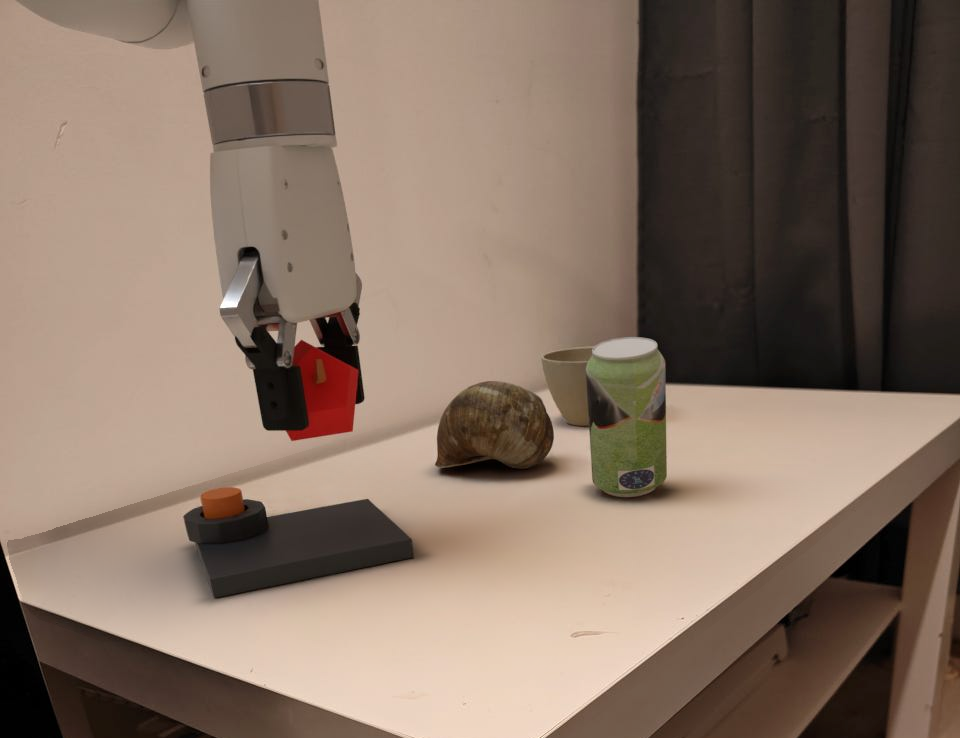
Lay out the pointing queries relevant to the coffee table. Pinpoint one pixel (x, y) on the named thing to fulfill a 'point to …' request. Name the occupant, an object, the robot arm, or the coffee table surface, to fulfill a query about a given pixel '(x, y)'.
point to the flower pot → (568, 382)
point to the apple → (325, 392)
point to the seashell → (494, 427)
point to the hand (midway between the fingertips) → (316, 414)
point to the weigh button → (222, 502)
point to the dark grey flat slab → (292, 544)
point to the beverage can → (627, 416)
